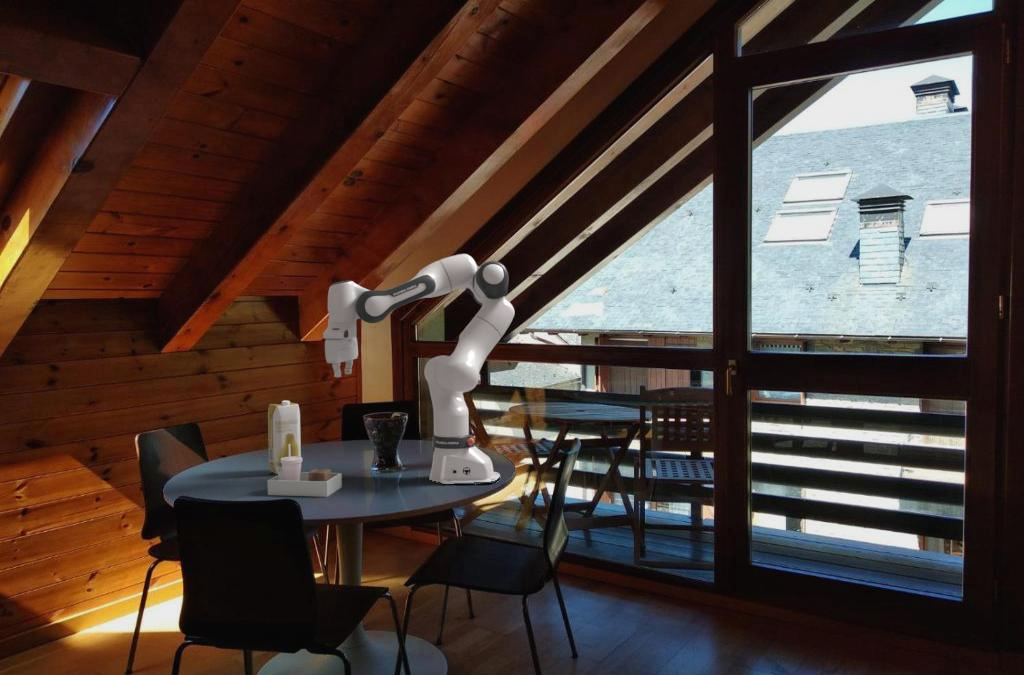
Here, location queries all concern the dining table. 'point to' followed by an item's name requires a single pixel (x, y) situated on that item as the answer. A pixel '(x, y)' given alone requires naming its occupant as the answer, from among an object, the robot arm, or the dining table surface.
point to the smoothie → (291, 467)
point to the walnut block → (319, 475)
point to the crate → (304, 486)
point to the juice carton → (283, 433)
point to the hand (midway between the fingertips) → (343, 375)
